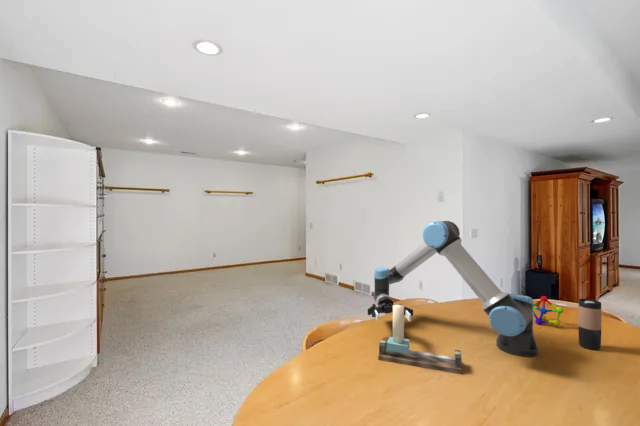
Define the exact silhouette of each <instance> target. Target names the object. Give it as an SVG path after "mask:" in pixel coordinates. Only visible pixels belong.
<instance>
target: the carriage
mask: <svg viewBox="0 0 640 426" xmlns="http://www.w3.org/2000/svg"><path fill="white" fill-rule="evenodd" d="M402 305H403V304H401V305H399V304H394V305H393V313H392V336H388V339H387V351H392V352H398V353H405V354H408V350H410V339H408V338H405V315H404V306H405V305H403V306H402Z"/></svg>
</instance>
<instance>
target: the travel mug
mask: <svg viewBox="0 0 640 426" xmlns="http://www.w3.org/2000/svg"><path fill="white" fill-rule="evenodd" d="M577 312H578V315H577V316H578V318H577V319H578V321H577V325H578V328H577V329H578V330H577V331H578V332H577V333H578V345H579V347H580V348H583V349H585V350H589V351H598V352H599V351H600V350H601V347H602V346H601V345H602V344H601V343H602V302H601V301H599V300H596V299H590V298H579V299H578V311H577Z"/></svg>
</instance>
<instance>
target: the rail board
mask: <svg viewBox="0 0 640 426" xmlns="http://www.w3.org/2000/svg"><path fill="white" fill-rule="evenodd" d="M387 341H388V339H385V338H381V340H380V343H379V345H378V357H377V358H378V360H380V361H385V362H389V363H390V362H391V363H396V364H402V365H408V366H413V367H414V366H415V367H418V368H419V367H420V368H425V369H431V370H437V371H442V372H449V373H454V374H460V375H462V371H463V370H462V355H463V353H462V352H461V351H462V350H459V349H454V356H449V355H444V354H443V355H442V354H436V353H431V352H426V351H425V352H424V351H418V350H413V349H409V350H408V354H405V353H398V352H392V351H387Z"/></svg>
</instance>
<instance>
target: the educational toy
mask: <svg viewBox="0 0 640 426" xmlns="http://www.w3.org/2000/svg"><path fill="white" fill-rule="evenodd" d="M541 303H542V305H541ZM546 303H547V304H548V305H550V306H551V307H553V308H554V309H547V308H546ZM533 304H534V306H533V317H534V318H535V320H534V322H535V324H537V325H538V324H539V325H540V326H541V325H542V324H549V325H550V324H553V325H554V326H555V327H560V326H561V322H560V317H561V314H563V313H564V308H563V307H561V306H557V305H555V304H553V302H551V301H549V299H548V297H547V296H545V295H542V296H541V297H540V299H538V300H537V299H536V300H533ZM540 306H542V307H540ZM534 310H536V311H538V313H539V316H538V315H537V313H536V312H535V311H534ZM551 312H553V313H555V312H557V313H556V318H555V319H554V320H552V319H549V318H547V317H546V316H545V315H546V314H547V313H551ZM539 325H538V326H539Z"/></svg>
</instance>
